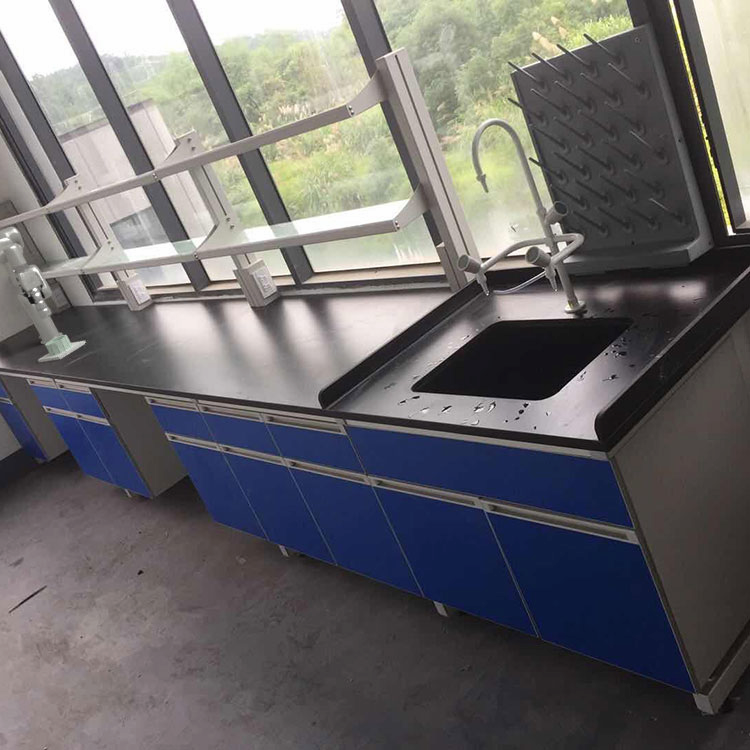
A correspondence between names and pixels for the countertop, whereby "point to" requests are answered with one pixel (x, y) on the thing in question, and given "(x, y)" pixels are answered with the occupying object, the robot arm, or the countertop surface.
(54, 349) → the bottle stand
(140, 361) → the countertop surface
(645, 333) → the countertop surface
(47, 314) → the plastic bottle
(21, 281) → the robot arm
